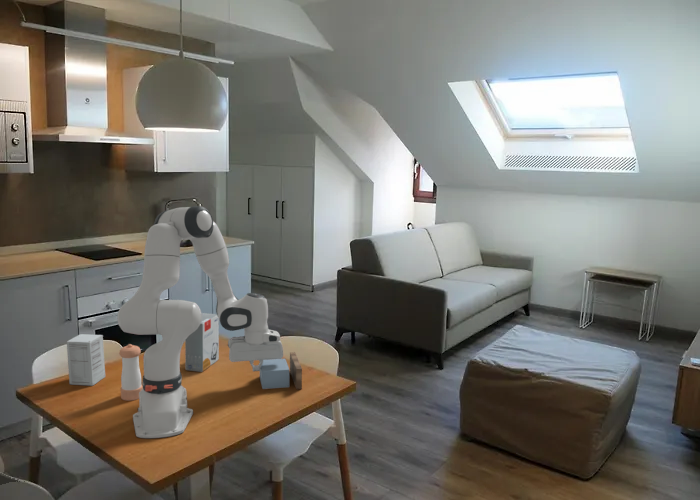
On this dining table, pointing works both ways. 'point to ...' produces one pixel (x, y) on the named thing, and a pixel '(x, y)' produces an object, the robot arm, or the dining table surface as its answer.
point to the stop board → (296, 370)
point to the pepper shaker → (130, 372)
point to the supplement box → (86, 359)
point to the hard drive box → (203, 344)
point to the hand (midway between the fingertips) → (256, 370)
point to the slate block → (274, 374)
